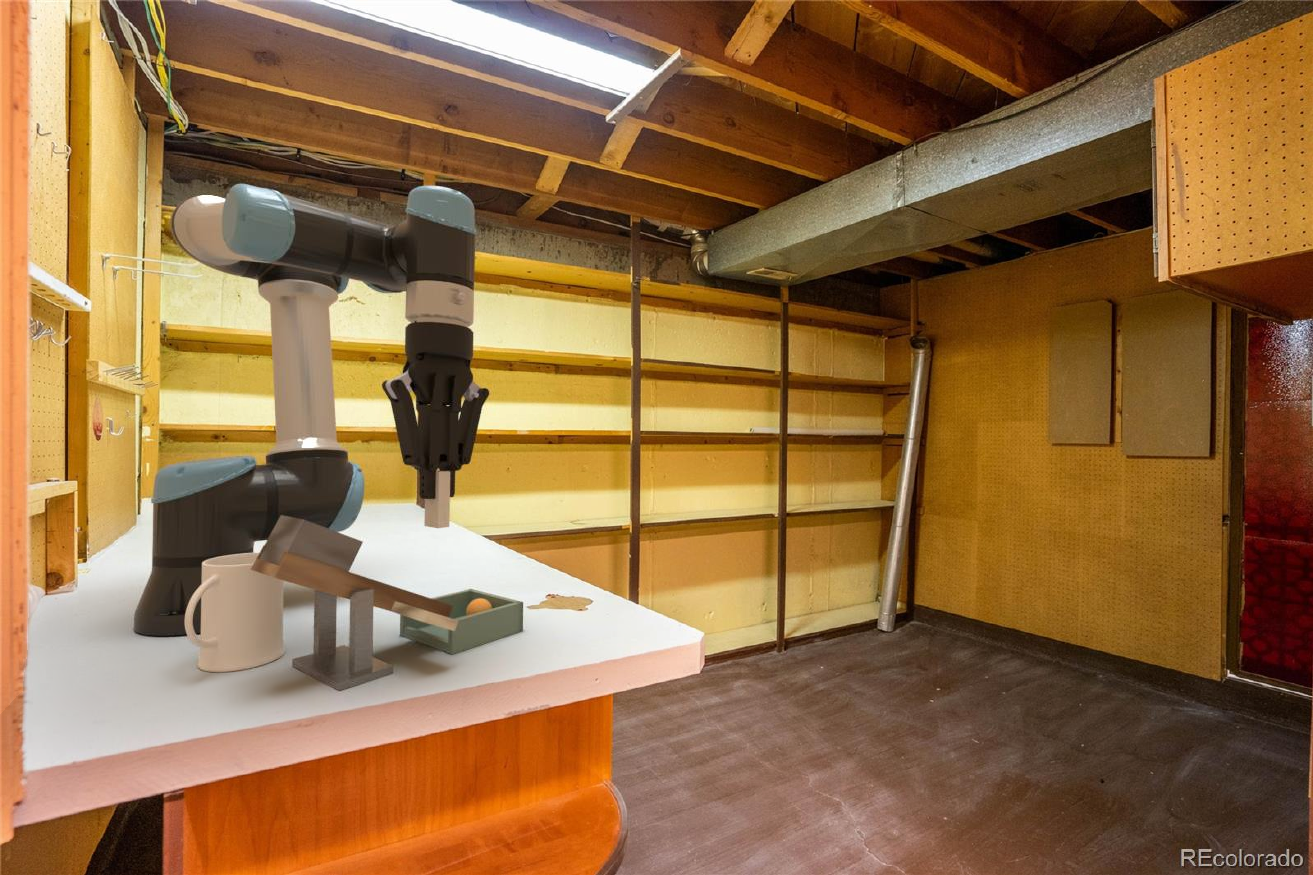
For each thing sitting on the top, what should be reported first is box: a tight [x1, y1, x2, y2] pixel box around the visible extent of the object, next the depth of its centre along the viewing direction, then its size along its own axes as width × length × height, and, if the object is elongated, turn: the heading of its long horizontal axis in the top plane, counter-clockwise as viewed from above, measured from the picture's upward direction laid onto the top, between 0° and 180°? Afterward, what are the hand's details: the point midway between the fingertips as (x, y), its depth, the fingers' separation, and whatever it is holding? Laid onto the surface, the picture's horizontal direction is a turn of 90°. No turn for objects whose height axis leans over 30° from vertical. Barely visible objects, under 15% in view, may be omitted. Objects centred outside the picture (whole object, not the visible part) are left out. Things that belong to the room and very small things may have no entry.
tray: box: [399, 588, 524, 655], centre depth 80 cm, size 12×11×4 cm
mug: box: [185, 552, 286, 673], centre depth 69 cm, size 12×8×12 cm
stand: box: [291, 587, 394, 692], centre depth 67 cm, size 11×6×10 cm, turn 54°
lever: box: [250, 515, 458, 631], centre depth 68 cm, size 13×22×6 cm, turn 144°
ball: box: [466, 598, 492, 616], centre depth 83 cm, size 4×4×4 cm
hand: (436, 526), depth 69 cm, fingers closed
